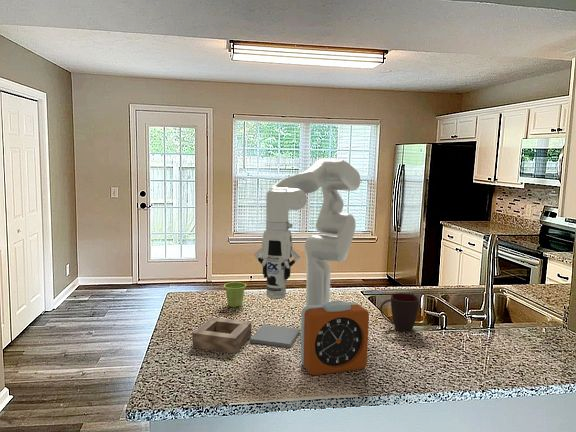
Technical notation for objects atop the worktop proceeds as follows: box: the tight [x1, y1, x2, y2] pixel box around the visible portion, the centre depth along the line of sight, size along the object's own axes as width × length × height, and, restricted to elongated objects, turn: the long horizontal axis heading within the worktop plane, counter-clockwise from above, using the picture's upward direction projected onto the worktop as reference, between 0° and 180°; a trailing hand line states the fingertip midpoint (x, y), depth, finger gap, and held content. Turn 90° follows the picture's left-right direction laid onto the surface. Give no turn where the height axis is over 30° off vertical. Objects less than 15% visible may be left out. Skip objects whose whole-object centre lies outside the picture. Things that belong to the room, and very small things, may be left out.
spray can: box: [266, 240, 287, 300], centre depth 154 cm, size 7×7×20 cm
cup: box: [379, 292, 420, 333], centre depth 166 cm, size 10×14×12 cm
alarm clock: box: [300, 300, 370, 376], centre depth 135 cm, size 18×9×21 cm, turn 106°
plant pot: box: [223, 281, 247, 308], centre depth 190 cm, size 9×9×9 cm
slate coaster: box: [249, 323, 301, 348], centre depth 158 cm, size 14×14×1 cm
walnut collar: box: [191, 317, 252, 354], centre depth 153 cm, size 15×15×5 cm
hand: (276, 277), depth 155 cm, fingers closed on spray can, 6 cm apart
